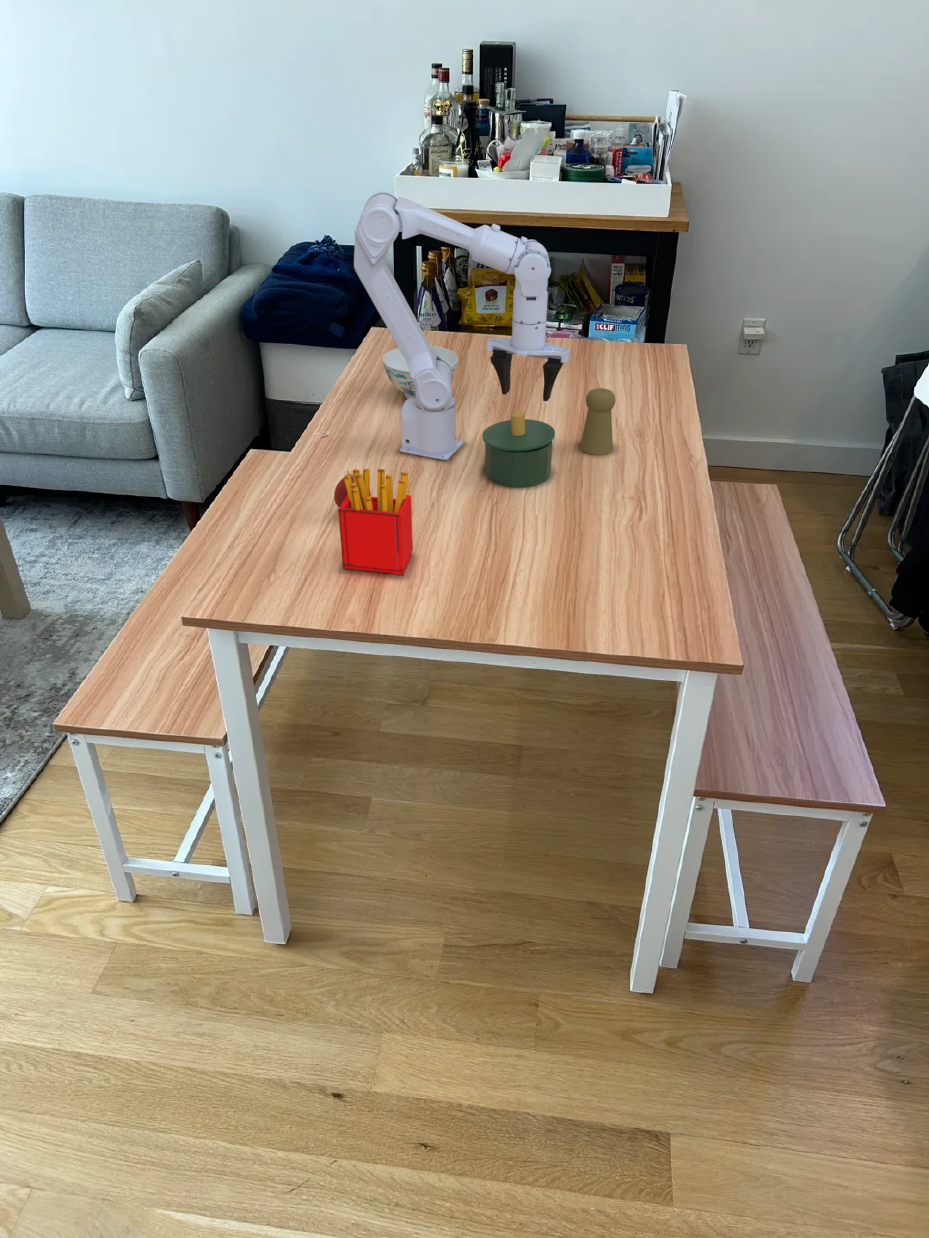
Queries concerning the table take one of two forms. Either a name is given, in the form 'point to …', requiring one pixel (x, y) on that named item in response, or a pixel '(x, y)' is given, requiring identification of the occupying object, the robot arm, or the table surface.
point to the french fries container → (376, 524)
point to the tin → (518, 466)
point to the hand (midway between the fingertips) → (526, 395)
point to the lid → (518, 434)
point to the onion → (342, 490)
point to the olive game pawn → (598, 422)
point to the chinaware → (400, 372)
